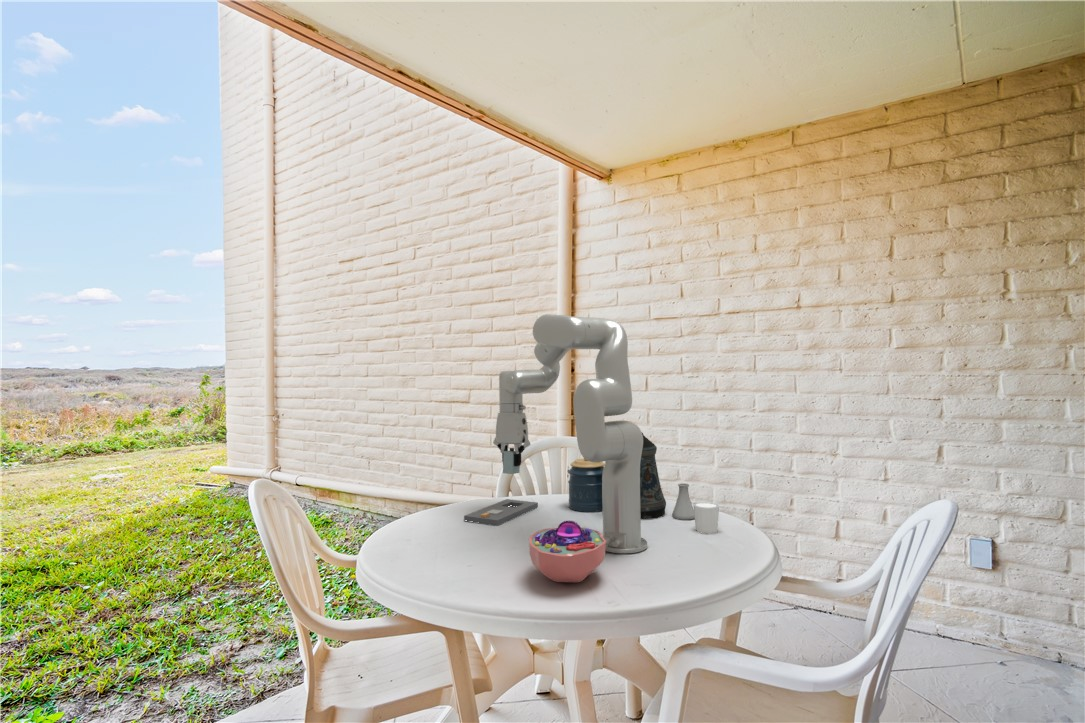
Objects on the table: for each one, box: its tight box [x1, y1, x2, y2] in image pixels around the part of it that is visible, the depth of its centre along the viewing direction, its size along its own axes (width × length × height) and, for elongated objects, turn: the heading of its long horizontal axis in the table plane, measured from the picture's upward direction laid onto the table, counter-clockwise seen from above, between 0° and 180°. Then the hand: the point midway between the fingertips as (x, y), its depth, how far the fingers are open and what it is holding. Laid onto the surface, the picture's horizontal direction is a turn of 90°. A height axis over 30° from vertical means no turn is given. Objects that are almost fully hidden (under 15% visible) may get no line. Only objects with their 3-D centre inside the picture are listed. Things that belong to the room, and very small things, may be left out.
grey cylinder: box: [692, 502, 720, 534], centre depth 152 cm, size 7×7×7 cm
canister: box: [567, 457, 605, 513], centre depth 180 cm, size 13×13×18 cm
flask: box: [671, 482, 695, 521], centre depth 166 cm, size 7×7×10 cm
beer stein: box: [604, 432, 667, 520], centre depth 171 cm, size 16×19×25 cm
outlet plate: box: [463, 498, 539, 527], centre depth 174 cm, size 24×12×2 cm, turn 151°
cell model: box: [528, 520, 606, 583], centre depth 119 cm, size 17×20×11 cm
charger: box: [502, 447, 521, 475], centre depth 179 cm, size 4×4×8 cm
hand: (511, 464), depth 179 cm, fingers closed on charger, 3 cm apart
